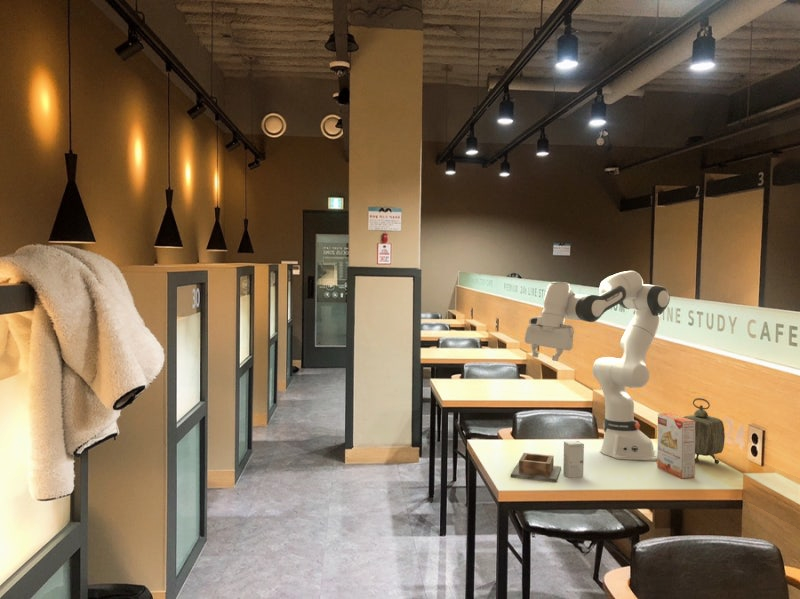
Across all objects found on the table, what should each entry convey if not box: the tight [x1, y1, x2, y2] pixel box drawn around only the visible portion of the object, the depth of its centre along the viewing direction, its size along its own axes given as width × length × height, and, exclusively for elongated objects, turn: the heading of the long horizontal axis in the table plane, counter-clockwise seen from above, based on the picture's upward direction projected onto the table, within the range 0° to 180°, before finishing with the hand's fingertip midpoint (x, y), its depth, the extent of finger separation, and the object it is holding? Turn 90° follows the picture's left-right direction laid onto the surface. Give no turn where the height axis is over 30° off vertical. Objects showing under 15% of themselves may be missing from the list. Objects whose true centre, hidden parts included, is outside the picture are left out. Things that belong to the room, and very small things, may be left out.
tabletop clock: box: [683, 397, 726, 465], centre depth 241 cm, size 14×9×25 cm, turn 31°
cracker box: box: [656, 412, 696, 480], centre depth 227 cm, size 14×6×21 cm, turn 13°
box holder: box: [510, 452, 562, 483], centre depth 226 cm, size 16×16×6 cm
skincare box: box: [562, 440, 585, 478], centre depth 223 cm, size 6×4×12 cm
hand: (544, 358), depth 231 cm, fingers open, 8 cm apart
